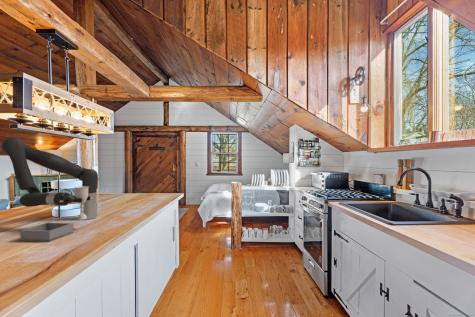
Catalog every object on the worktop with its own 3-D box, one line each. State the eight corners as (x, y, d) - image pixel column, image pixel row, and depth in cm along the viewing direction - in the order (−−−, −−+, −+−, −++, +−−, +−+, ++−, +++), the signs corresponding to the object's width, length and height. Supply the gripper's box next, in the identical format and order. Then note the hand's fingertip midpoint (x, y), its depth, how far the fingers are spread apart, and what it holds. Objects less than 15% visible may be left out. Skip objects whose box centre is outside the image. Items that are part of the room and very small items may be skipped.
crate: (47, 231, 131) (47, 222, 131) (73, 232, 130) (73, 223, 130) (20, 240, 116) (20, 230, 116) (49, 241, 115) (49, 231, 115)
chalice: (77, 220, 132) (76, 188, 132) (72, 219, 136) (72, 187, 136) (91, 218, 138) (91, 186, 137) (86, 216, 142) (86, 185, 142)
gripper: (47, 194, 131) (76, 194, 129) (68, 190, 145) (94, 190, 144) (47, 208, 131) (76, 208, 129) (68, 203, 145) (94, 203, 144)
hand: (85, 199), depth 137 cm, fingers closed on chalice, 6 cm apart
